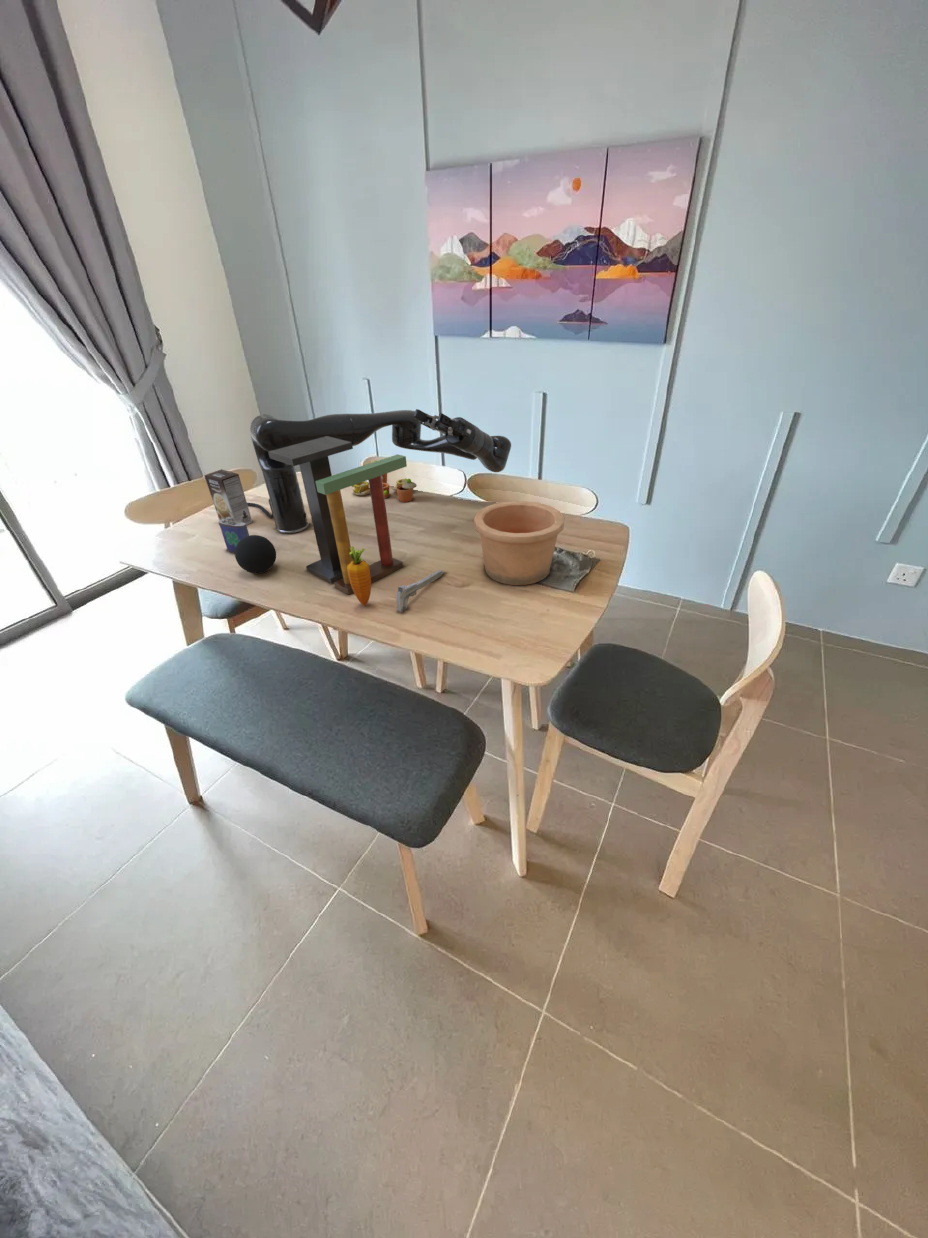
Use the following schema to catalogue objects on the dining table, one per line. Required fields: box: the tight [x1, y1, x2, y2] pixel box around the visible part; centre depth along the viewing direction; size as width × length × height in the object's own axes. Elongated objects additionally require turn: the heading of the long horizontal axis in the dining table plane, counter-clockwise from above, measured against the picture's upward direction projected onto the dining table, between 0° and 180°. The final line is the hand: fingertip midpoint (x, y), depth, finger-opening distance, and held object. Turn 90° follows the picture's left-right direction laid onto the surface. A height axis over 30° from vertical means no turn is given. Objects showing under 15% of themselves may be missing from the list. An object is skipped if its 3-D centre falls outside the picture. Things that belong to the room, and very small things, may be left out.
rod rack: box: [326, 475, 404, 595], centre depth 120 cm, size 18×6×25 cm, turn 138°
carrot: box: [347, 546, 372, 607], centre depth 112 cm, size 5×5×15 cm
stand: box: [268, 436, 354, 585], centre depth 122 cm, size 16×11×32 cm
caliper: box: [395, 569, 445, 613], centre depth 118 cm, size 20×1×6 cm, turn 153°
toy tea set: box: [351, 460, 418, 503], centre depth 174 cm, size 26×16×10 cm, turn 63°
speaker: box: [234, 534, 277, 574], centre depth 129 cm, size 10×10×10 cm
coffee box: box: [204, 468, 253, 526], centre depth 155 cm, size 9×6×16 cm
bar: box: [315, 454, 408, 495], centre depth 114 cm, size 24×3×2 cm, turn 138°
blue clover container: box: [218, 516, 250, 554], centre depth 139 cm, size 9×3×11 cm, turn 68°
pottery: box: [473, 500, 565, 586], centre depth 123 cm, size 22×22×14 cm
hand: (427, 415), depth 124 cm, fingers open, 8 cm apart
